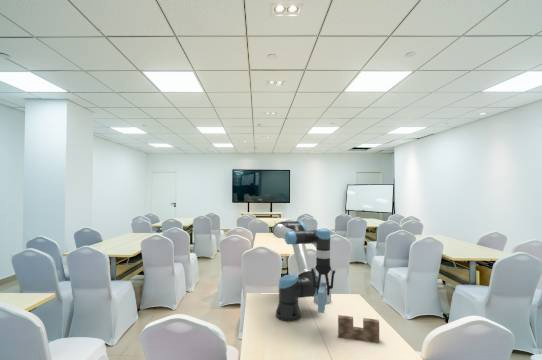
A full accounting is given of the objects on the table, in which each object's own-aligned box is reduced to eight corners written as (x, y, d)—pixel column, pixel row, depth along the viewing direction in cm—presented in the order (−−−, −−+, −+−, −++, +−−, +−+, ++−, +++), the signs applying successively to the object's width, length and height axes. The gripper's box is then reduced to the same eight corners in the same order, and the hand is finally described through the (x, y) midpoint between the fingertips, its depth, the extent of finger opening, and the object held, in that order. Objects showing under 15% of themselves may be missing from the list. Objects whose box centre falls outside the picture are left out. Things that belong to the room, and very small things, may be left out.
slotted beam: (338, 337, 144) (338, 317, 144) (338, 334, 146) (338, 315, 147) (379, 342, 138) (379, 322, 139) (378, 339, 141) (378, 319, 142)
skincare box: (326, 299, 195) (326, 284, 195) (331, 302, 189) (331, 287, 189) (313, 301, 190) (313, 286, 191) (318, 305, 185) (318, 289, 185)
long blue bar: (317, 312, 140) (317, 292, 140) (320, 300, 155) (320, 282, 156) (323, 313, 139) (323, 292, 139) (326, 301, 154) (326, 282, 155)
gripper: (307, 257, 152) (307, 301, 151) (337, 260, 148) (338, 304, 147) (309, 254, 159) (309, 296, 158) (338, 256, 155) (338, 299, 154)
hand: (323, 300), depth 152 cm, fingers closed on long blue bar, 3 cm apart
